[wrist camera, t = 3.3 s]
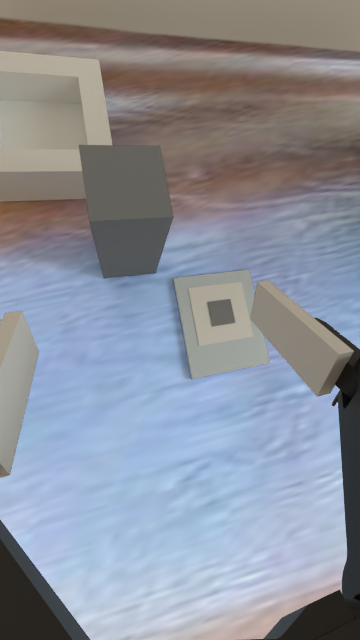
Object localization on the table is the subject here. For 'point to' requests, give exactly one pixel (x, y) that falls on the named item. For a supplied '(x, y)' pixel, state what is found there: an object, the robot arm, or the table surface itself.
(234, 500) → the table surface
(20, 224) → the table surface
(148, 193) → the charcoal pillar
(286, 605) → the table surface
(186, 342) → the card
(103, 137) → the socket base
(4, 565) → the robot arm
